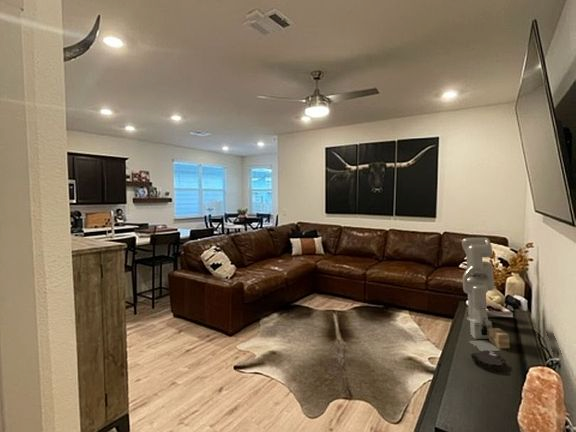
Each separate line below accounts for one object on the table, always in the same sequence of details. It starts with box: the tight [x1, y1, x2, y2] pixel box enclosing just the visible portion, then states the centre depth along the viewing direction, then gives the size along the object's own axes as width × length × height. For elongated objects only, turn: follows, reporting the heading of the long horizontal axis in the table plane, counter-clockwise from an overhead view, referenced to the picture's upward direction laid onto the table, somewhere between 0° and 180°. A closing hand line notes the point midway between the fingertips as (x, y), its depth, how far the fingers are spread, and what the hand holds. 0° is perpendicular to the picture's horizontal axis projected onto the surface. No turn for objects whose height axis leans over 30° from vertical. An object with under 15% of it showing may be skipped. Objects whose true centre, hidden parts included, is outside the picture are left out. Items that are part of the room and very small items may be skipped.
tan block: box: [488, 327, 511, 349], centre depth 194 cm, size 10×6×8 cm, turn 178°
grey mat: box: [468, 339, 501, 352], centre depth 194 cm, size 14×11×1 cm
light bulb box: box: [469, 319, 493, 340], centre depth 206 cm, size 11×7×11 cm, turn 84°
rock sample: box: [470, 350, 507, 373], centre depth 173 cm, size 18×16×5 cm
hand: (481, 332), depth 206 cm, fingers closed on light bulb box, 6 cm apart
